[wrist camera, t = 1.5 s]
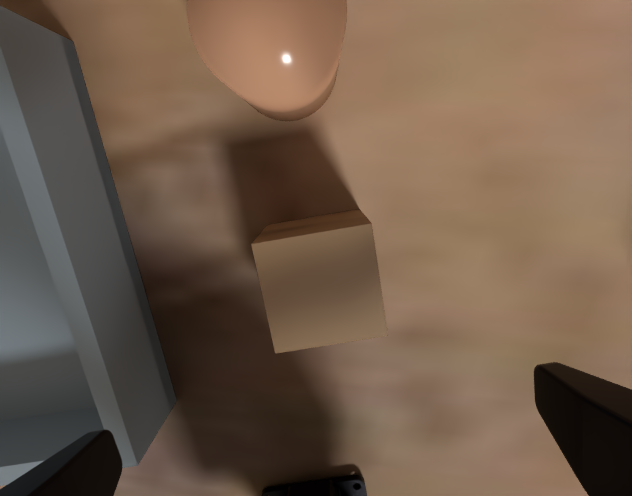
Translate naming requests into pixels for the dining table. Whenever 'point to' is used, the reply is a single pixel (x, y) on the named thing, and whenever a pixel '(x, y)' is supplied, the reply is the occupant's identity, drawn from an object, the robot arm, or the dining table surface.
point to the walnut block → (320, 281)
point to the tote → (66, 270)
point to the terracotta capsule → (272, 50)
